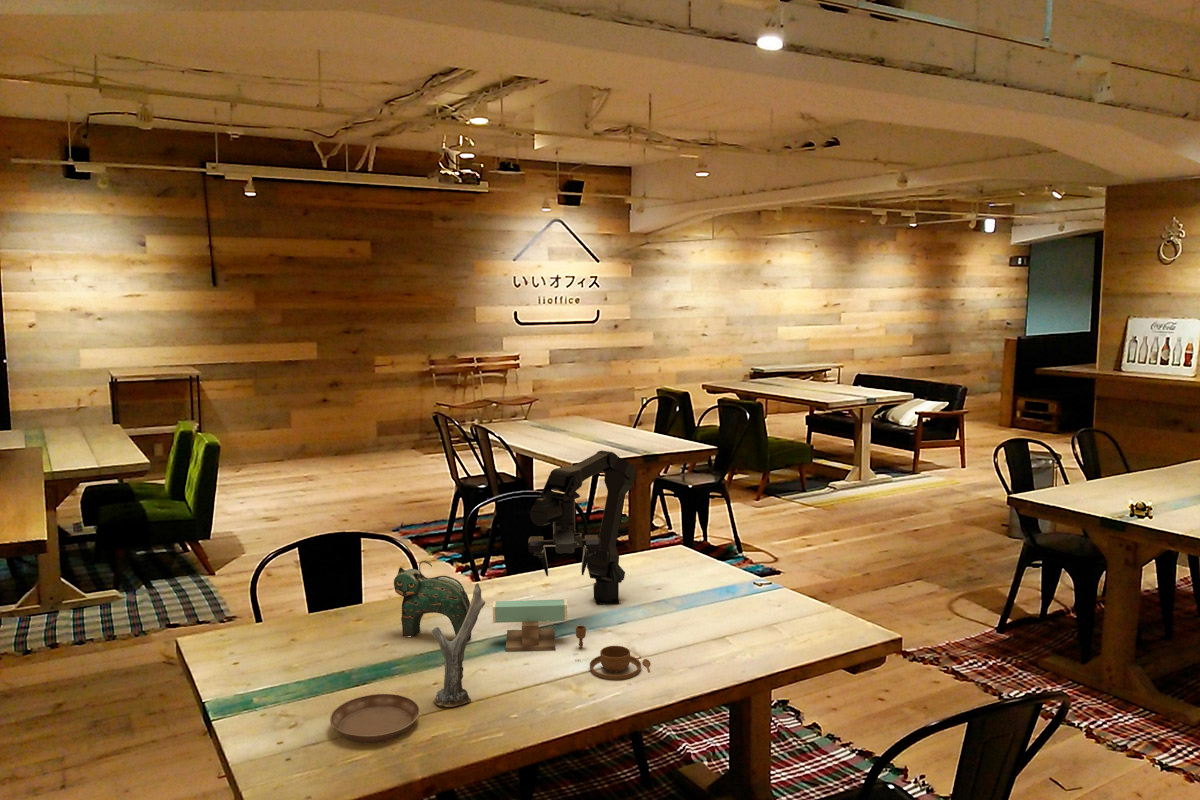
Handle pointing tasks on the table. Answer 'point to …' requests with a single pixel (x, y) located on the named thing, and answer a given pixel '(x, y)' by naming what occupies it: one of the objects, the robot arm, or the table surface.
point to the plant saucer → (374, 718)
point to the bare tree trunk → (457, 655)
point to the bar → (529, 611)
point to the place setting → (612, 659)
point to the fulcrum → (530, 638)
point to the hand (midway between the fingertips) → (564, 575)
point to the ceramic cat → (430, 599)
